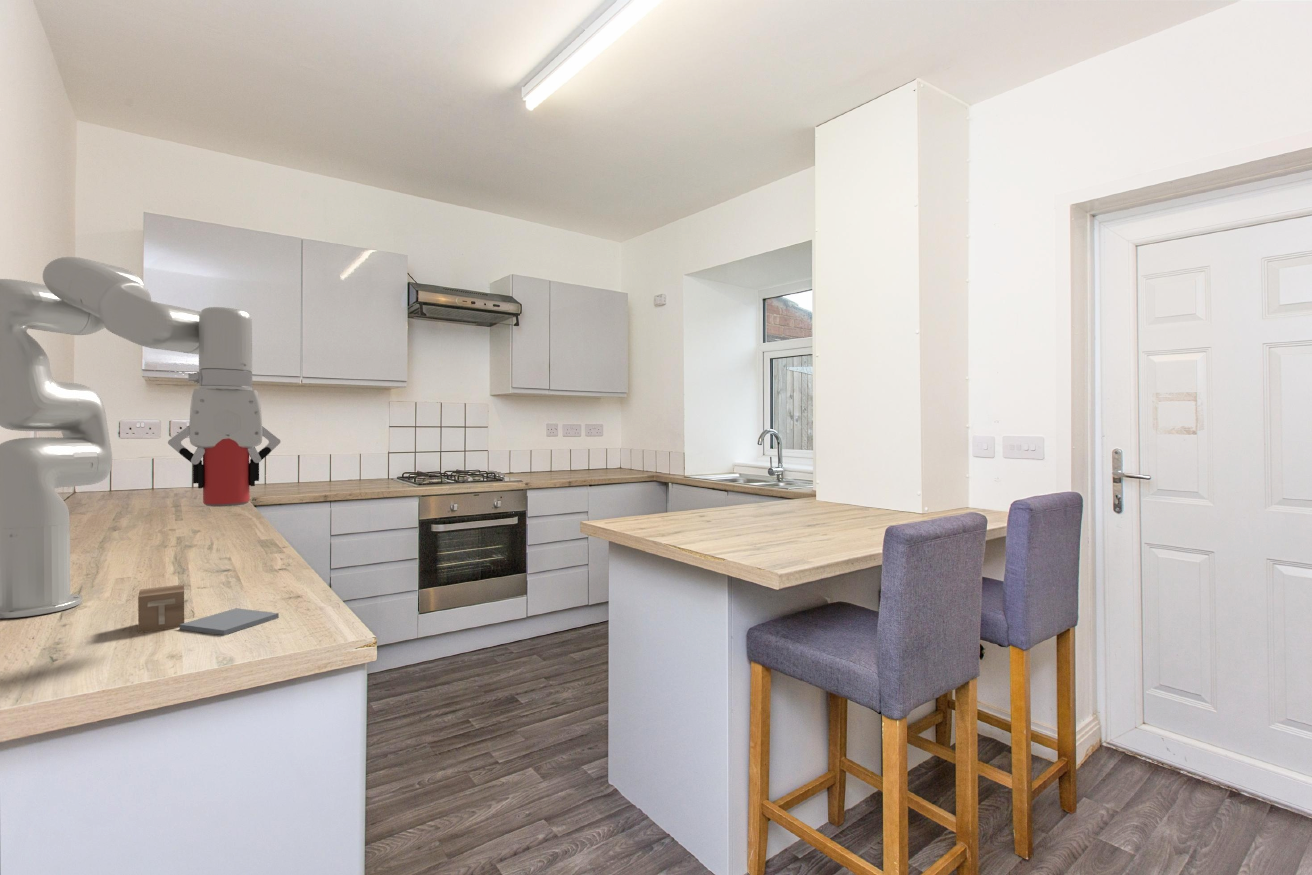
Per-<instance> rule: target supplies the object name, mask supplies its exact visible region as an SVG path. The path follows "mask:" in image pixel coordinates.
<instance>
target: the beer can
mask: <svg viewBox="0 0 1312 875" xmlns="http://www.w3.org/2000/svg"><path fill="white" fill-rule="evenodd" d="M227 436H230V435H227ZM249 463H250V455H249V452H248V448H243V447H241V446H239V445H238V443H237V442H236V441H234V440H232V439H230V438H227V439H222V440H221V441H219V442H218V443H217V444H216V445H215V446H214V447H212V448H205V453H204V455H203V457H202V464H203V466H204V488H202V503H203V505H205V506H206V507H211V508H212V507H213V508H215V507H216V508H217V507H235V506H236V507H237V506H242V505H243V506H244V505H246V504H248V503H249V502H250V501H251V500H250V485H249Z"/></svg>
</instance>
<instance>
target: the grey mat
mask: <svg viewBox="0 0 1312 875" xmlns="http://www.w3.org/2000/svg"><path fill="white" fill-rule="evenodd" d="M276 619H279V612H271V611H263V610H255V609H254V610H253V609H246V608H237V607H236V608H232V609H229V610H225V611H221V612H218V613H215V614H212V615H211V614H210V615H208V616H205V617H204V616H203V617H201V618H198V619H193V620H190V621H187V622H184V623H183V624H180V627H179V630H183V631H189V632H190V631H191V632H199V633H205V634H213V635H220V636H227V635H229V634H233V633H237V632H239V631H242V630H245V629H248V628H251V627H254V626H257V625H260V624H263V623H267V622H269V621H273V620H276Z"/></svg>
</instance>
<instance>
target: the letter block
mask: <svg viewBox="0 0 1312 875" xmlns="http://www.w3.org/2000/svg"><path fill="white" fill-rule="evenodd" d="M137 600H138V601H137V603H138V604H137V614H138V615H137V617H138V619H137V621H138V626H137V628H138V631H137V632H138V634H142V633H149V632H153V631H154V632H155V631H160V630H166V629H167V630H168V629H174V628H180V624H183V623H185V585H184V584H183V583H182V584H175V585H166V586H158V587H157V586H155V587H150V588H140V589H139V592H138V596H137Z"/></svg>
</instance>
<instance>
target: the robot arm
mask: <svg viewBox="0 0 1312 875" xmlns="http://www.w3.org/2000/svg"><path fill="white" fill-rule="evenodd" d="M42 280H43V283H44V284H42V283H37V282H32V281H28V280H27V281H26V280H21V279H20V280H19V279H11V278H0V428H3V429H6V430H10V431H15V432H16V431H18V432H61V434H62V437H54V436H53V437H52V436H49V437H45V436H43V437H41V436H39V437H20V438H14V439H9V440H5V441H3V442H1V443H0V619H16V618H27V617H33V616H34V617H35V616H39V615H41V616H42V615H46V614H51V613H55V612H61V611H65V610H68V609H71V608H74V607H76V606H79V605H80V604H81V603H82V601H83V600H82V598H83V597H82V596H81V595H79V594H74V593H73V594H71V531H70V530H71V529H70V528H71V527H70V526H71V525H70V524H71V523H70V522H71V521H70V511H69V507H68V505H67V503H66V502H65V501H64V499H63V498H62V497H61V496H60V494H59V493H58V492H57V490H56V489H59V488H71V487H82V486H92V485H96V484H98V483H101V482H103V481H105V479H106V478H108V477H109V475H110V473H111V471H112V467H113V453H112V446H111V439H110V434H109V427H108V420H107V414H106V408H105V405H104V402H103V400H102V398H101V397H100V396H99V394H98V393H97V392H96V391H95V390H94V389H93V388H91V387H90V386H87V385H85V384H81V383H74V382H66V381H64V382H63V381H61V382H60V381H56V380H54V378H53V375H52V372H51V366H50V359H49V357H48V355H47V353H46V351H45V349H43V347H42V346H41V344H40V343H39V342H38V341H37V340H36V339H35V338H34V337H33V336H31V335H30V334H29V333H28V329H29V330H37V331H43V332H51V333H56V334H57V333H58V334H65V335H71V336H72V335H73V336H87V335H92V334H96V333H97V332H99V331H101V330H104V329H106V330H107V331H108V332H110V333H112V334H114V335H116V336H118V337H120V338H122V339H125V340H127V341H129V342H131V343H133V344H135V345H138V346H140V347H145V348H149V349H153V350H154V349H155V350H164V351H170V352H179V353H185V354H192V355H198V371H196V372H194V373H189V372H188V378H187V380H188V382H193V383H196V384H198V388H193V391H192V394H191V401H190V410H189V425H188V426H186V427H185V428H184V429H182V430H181V431H179V432H178V433H177V434H175V435H173V437H171V438H170V439H168V440H167V444H168V445H169V446H170V447H171V448H172V449H173V450H175V451H176V452H177V453H179V455H181V456H182V457H183V458H184V459H186V460H187V461H188V462H190V463H191V464H192V484H197V489H203V488H204V466H203V455H204V453H205V448H212V447H214V446H215V445H216V444H217V443H218V442H219V441H221V440H222V439H227V438H230V439H232V440H234V441H236V442H237V443H238V445H239V446H241V447H243V448H248V452H249V487H255V486H256V482H260V463H261V462H262V460H264V459H265V458H266V457H267V456H268V455H270V453H271V452H273V451H274V450H275V449H276V448H277V447H278V446H279V445H280V444H281V442H282V441H281V439H280V438H278V437H277V436H276V435H275V434H273V433H272V432H270V431H269V430H268V429H267V428H266V427H265V426H263V418H262V406H261V400H260V395H259V392H258V390H253V320H252V319H253V318H252V317H251V314H250V313H248V312H247V311H244V310H242V309H238V308H232V307H222V306H221V307H220V306H212V307H211V306H210V307H206V308H203V309H202V310H201V311H199V310H195V309H190V308H185V307H182V306H181V307H180V306H176V305H171V304H167V303H158V302H156V301H153V300H152V297H151V293H150V292H149V290H148V289H147V287H146V286H145V284H144V282H143V280H142V279H141V278H140V277H139V276H138V275H137V274H136V273H134V272H133V271H132V270H129V269H127V268H124V267H120V266H116V265H112V264H109V263H108V264H107V263H103V262H99V261H95V260H91V259H88V258H82V257H77V256H66V257H59V258H55V259H52V260H51V261H49V263H47V265H46V266H44V269H43V271H42ZM227 435H230V436H227ZM188 437H189V444H190V445H192V446H193V447H196V449H195V451H194V453H193V452H191V451H190V450H189V449H188V448H187V447H185V446H184V445H183V443H182V441H183V440H186V439H187V438H188ZM263 438H264V439H265V440H267V441H268V443H267V444H266V445H265V446H264V447H262V449H260V450H259V451H258V450H257V448H256V447H258V446H260V445H262V442H263Z"/></svg>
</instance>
